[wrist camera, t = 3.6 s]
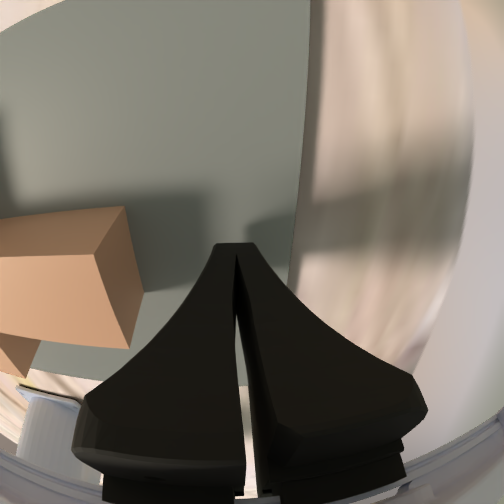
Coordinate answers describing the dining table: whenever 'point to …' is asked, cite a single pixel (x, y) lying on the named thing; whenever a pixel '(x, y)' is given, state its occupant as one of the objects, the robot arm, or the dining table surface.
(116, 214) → the t block
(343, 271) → the dining table surface
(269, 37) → the board
